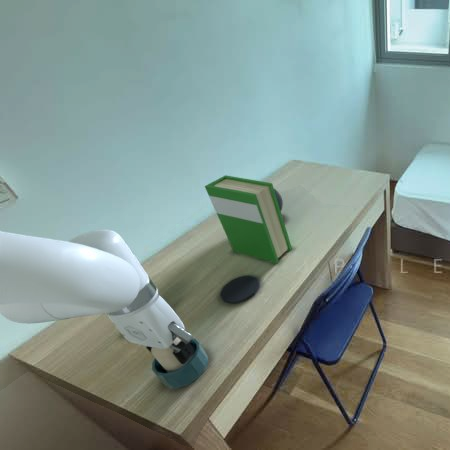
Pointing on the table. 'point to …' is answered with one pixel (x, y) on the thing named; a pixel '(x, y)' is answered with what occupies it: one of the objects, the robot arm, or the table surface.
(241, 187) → the hardback book
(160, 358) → the candle
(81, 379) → the table surface
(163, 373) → the holder cup
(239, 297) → the coaster
